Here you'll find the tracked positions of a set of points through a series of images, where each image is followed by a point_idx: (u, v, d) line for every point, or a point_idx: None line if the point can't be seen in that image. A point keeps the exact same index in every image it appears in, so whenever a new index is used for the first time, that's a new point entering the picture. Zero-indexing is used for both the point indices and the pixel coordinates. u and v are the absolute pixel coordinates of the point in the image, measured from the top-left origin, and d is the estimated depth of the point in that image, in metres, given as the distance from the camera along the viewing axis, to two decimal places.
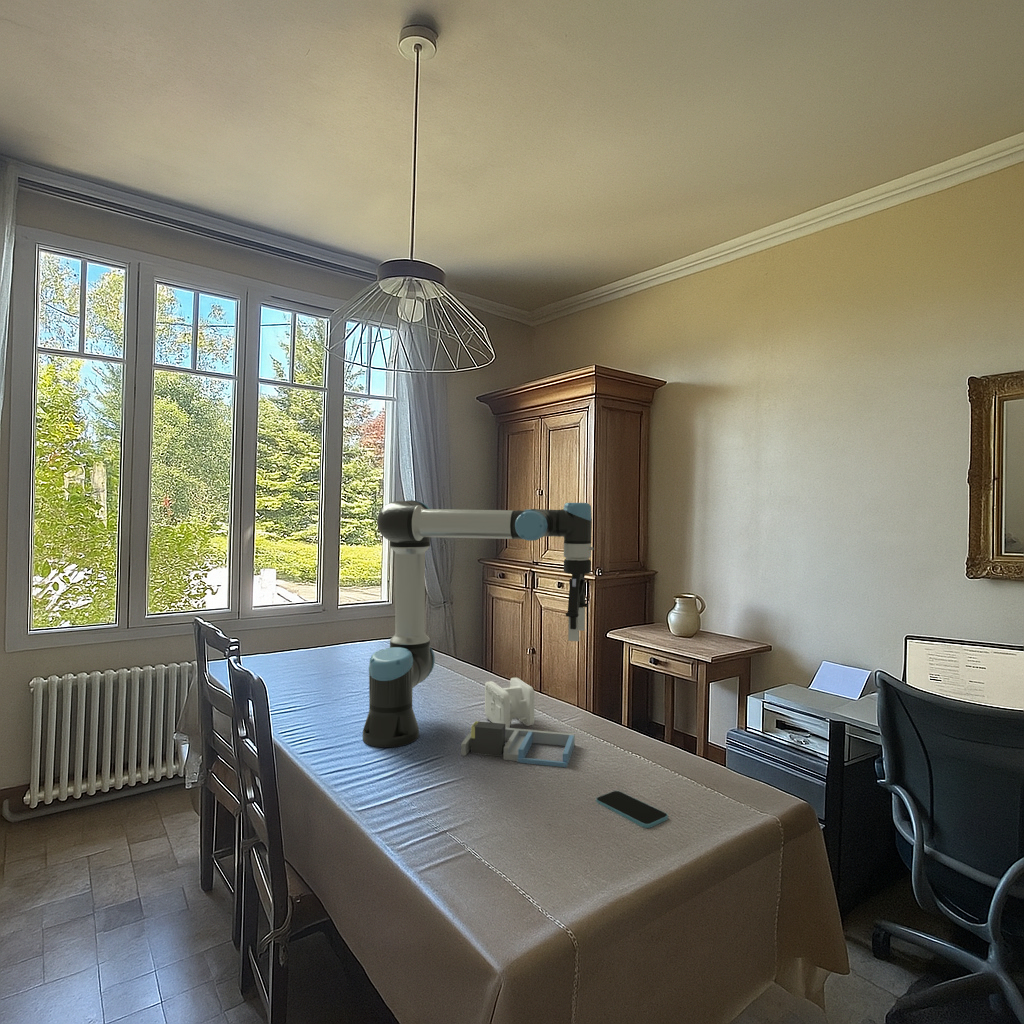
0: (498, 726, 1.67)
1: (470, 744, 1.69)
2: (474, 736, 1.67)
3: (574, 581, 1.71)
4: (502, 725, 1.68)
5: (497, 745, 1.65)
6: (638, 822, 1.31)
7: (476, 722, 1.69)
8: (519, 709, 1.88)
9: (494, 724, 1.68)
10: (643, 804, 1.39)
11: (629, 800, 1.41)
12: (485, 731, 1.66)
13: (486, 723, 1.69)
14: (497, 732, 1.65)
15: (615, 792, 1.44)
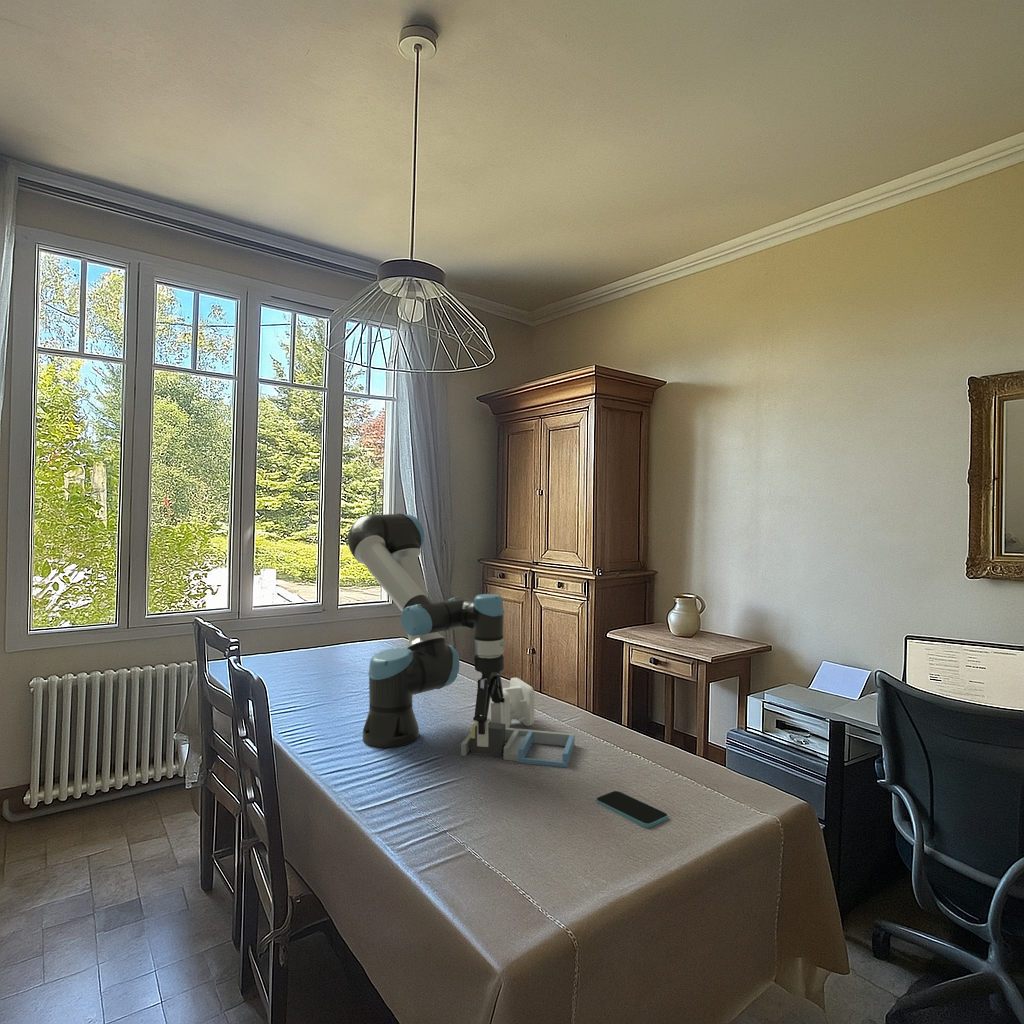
0: (498, 726, 1.67)
1: (470, 744, 1.69)
2: (474, 736, 1.67)
3: (482, 682, 1.60)
4: (502, 725, 1.68)
5: (497, 745, 1.65)
6: (638, 822, 1.31)
7: (476, 722, 1.69)
8: (519, 709, 1.88)
9: (494, 724, 1.68)
10: (643, 804, 1.39)
11: (629, 800, 1.41)
12: None
13: None
14: (497, 732, 1.65)
15: (615, 792, 1.44)
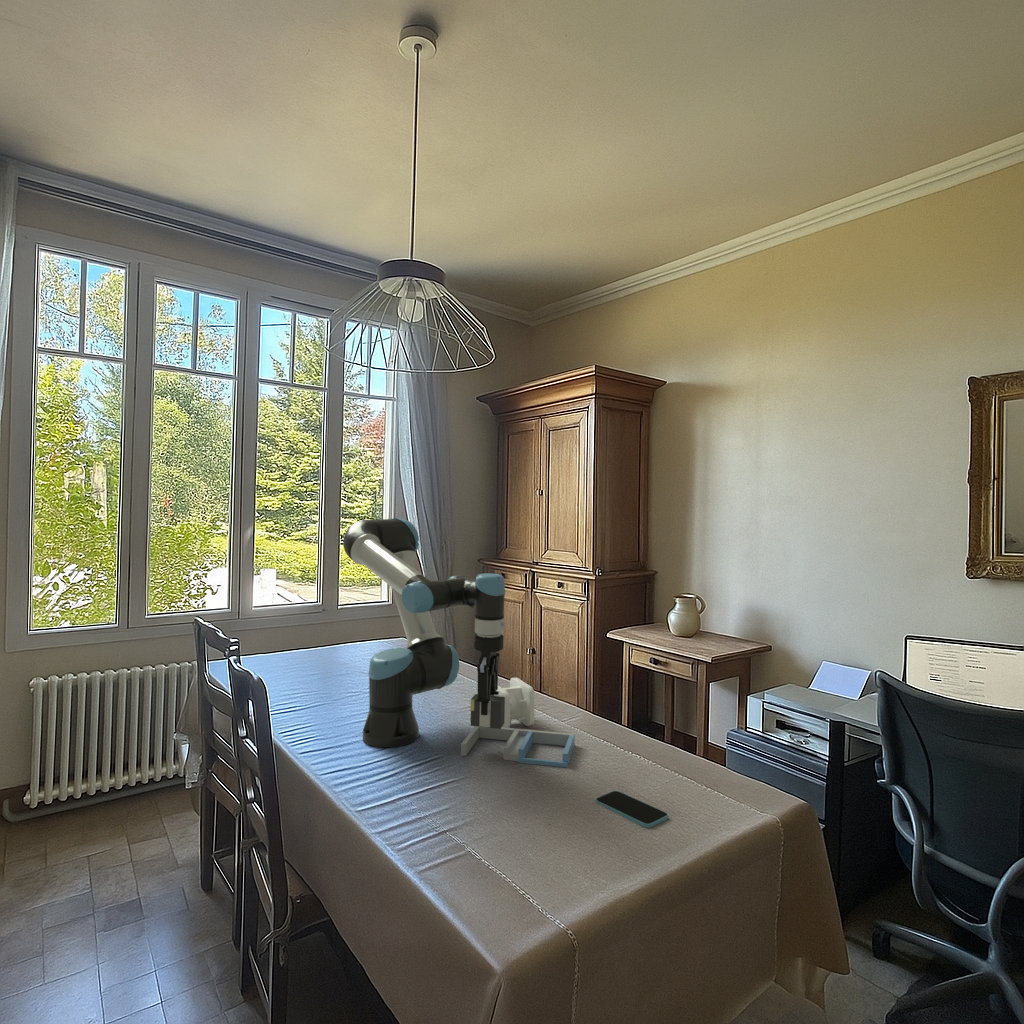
0: (498, 699, 1.67)
1: (470, 744, 1.69)
2: (473, 709, 1.67)
3: (482, 668, 1.61)
4: (501, 698, 1.68)
5: (496, 717, 1.65)
6: (639, 822, 1.31)
7: (475, 695, 1.69)
8: (519, 709, 1.88)
9: (493, 697, 1.68)
10: (643, 804, 1.39)
11: (628, 800, 1.41)
12: None
13: None
14: (496, 705, 1.65)
15: (614, 792, 1.44)
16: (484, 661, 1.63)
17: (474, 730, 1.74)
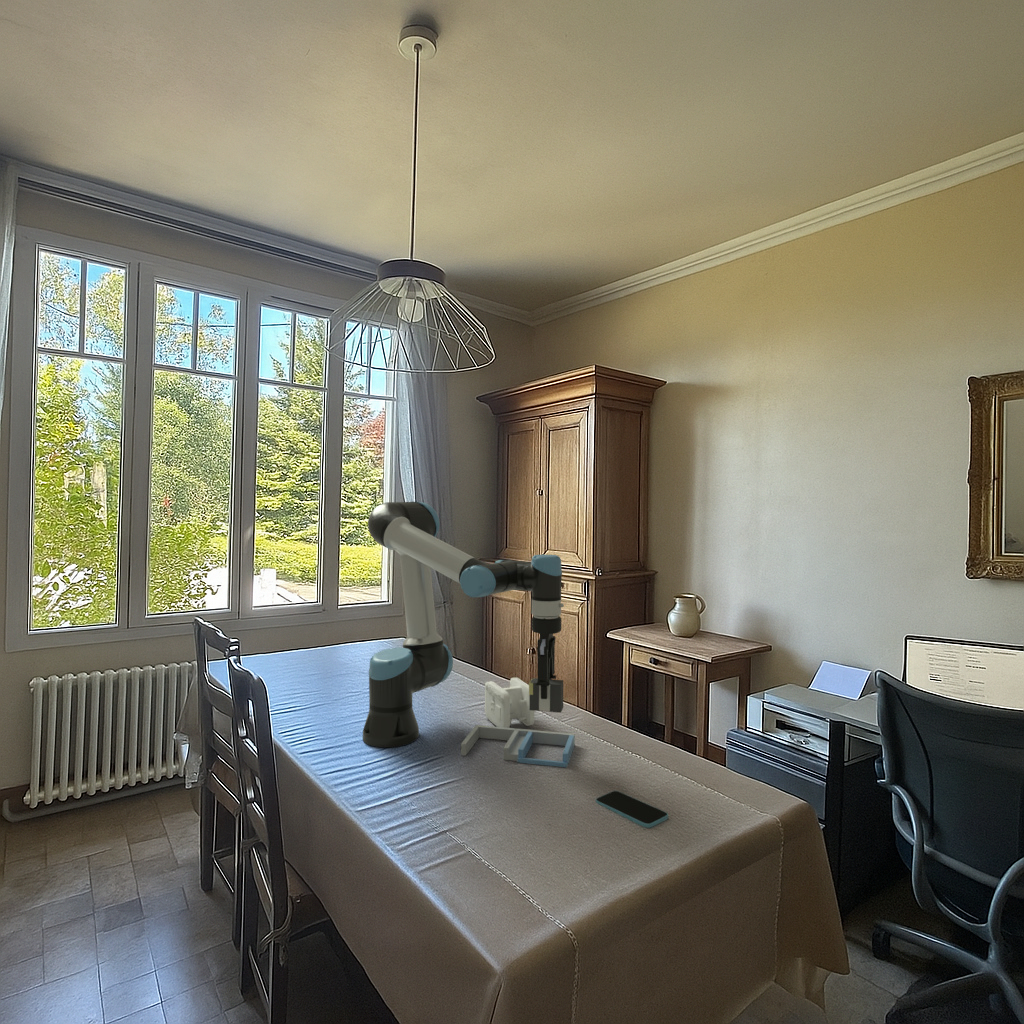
0: (557, 682, 1.63)
1: (470, 744, 1.69)
2: (532, 693, 1.63)
3: (542, 650, 1.57)
4: (560, 681, 1.64)
5: (556, 701, 1.61)
6: (639, 822, 1.31)
7: (533, 679, 1.66)
8: (519, 709, 1.88)
9: (552, 680, 1.64)
10: (643, 804, 1.39)
11: (628, 800, 1.41)
12: None
13: None
14: (556, 688, 1.61)
15: (614, 792, 1.44)
16: (543, 643, 1.59)
17: (474, 730, 1.74)
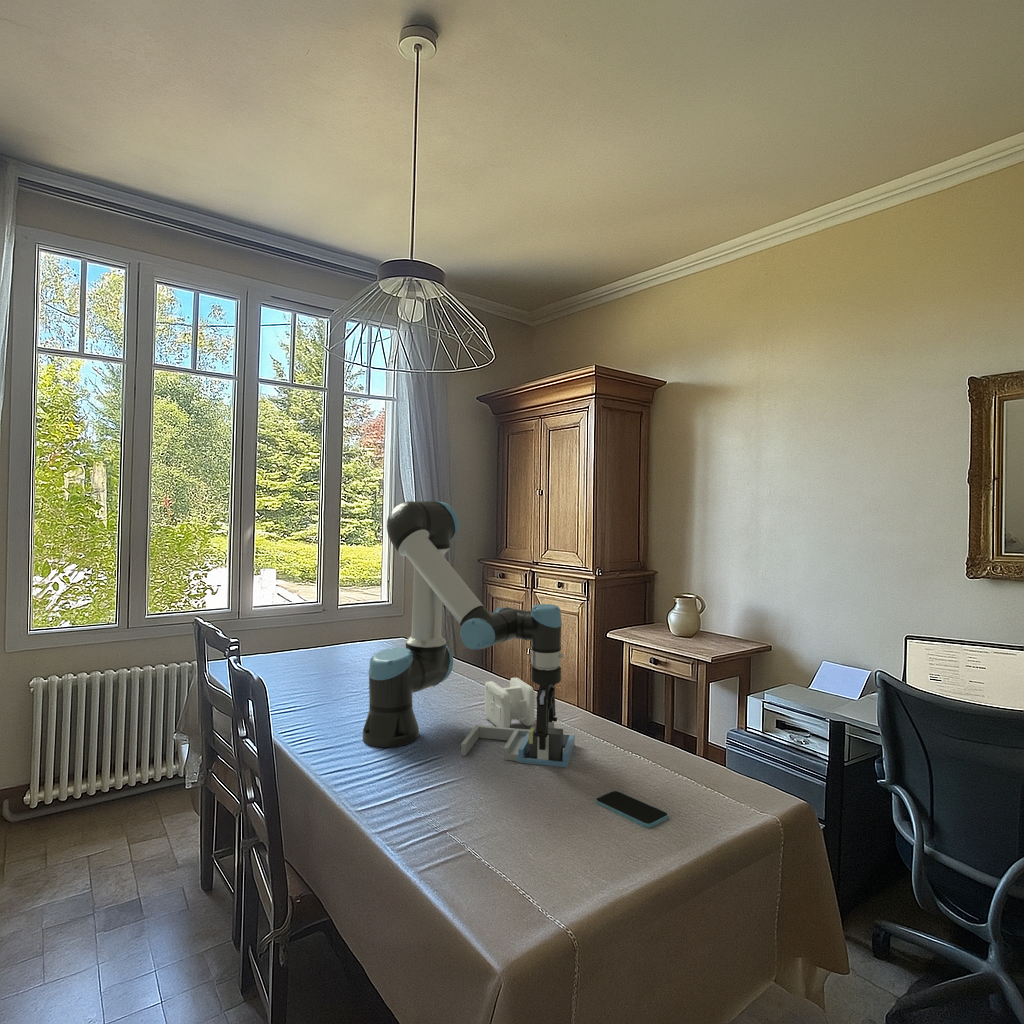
0: (557, 731, 1.63)
1: (470, 744, 1.69)
2: (532, 742, 1.63)
3: (541, 699, 1.58)
4: (560, 730, 1.64)
5: (555, 751, 1.62)
6: (639, 822, 1.31)
7: (533, 727, 1.66)
8: (519, 709, 1.88)
9: (552, 729, 1.65)
10: (643, 804, 1.39)
11: (628, 800, 1.41)
12: None
13: None
14: (556, 738, 1.62)
15: (614, 792, 1.44)
16: (543, 693, 1.60)
17: (474, 730, 1.74)
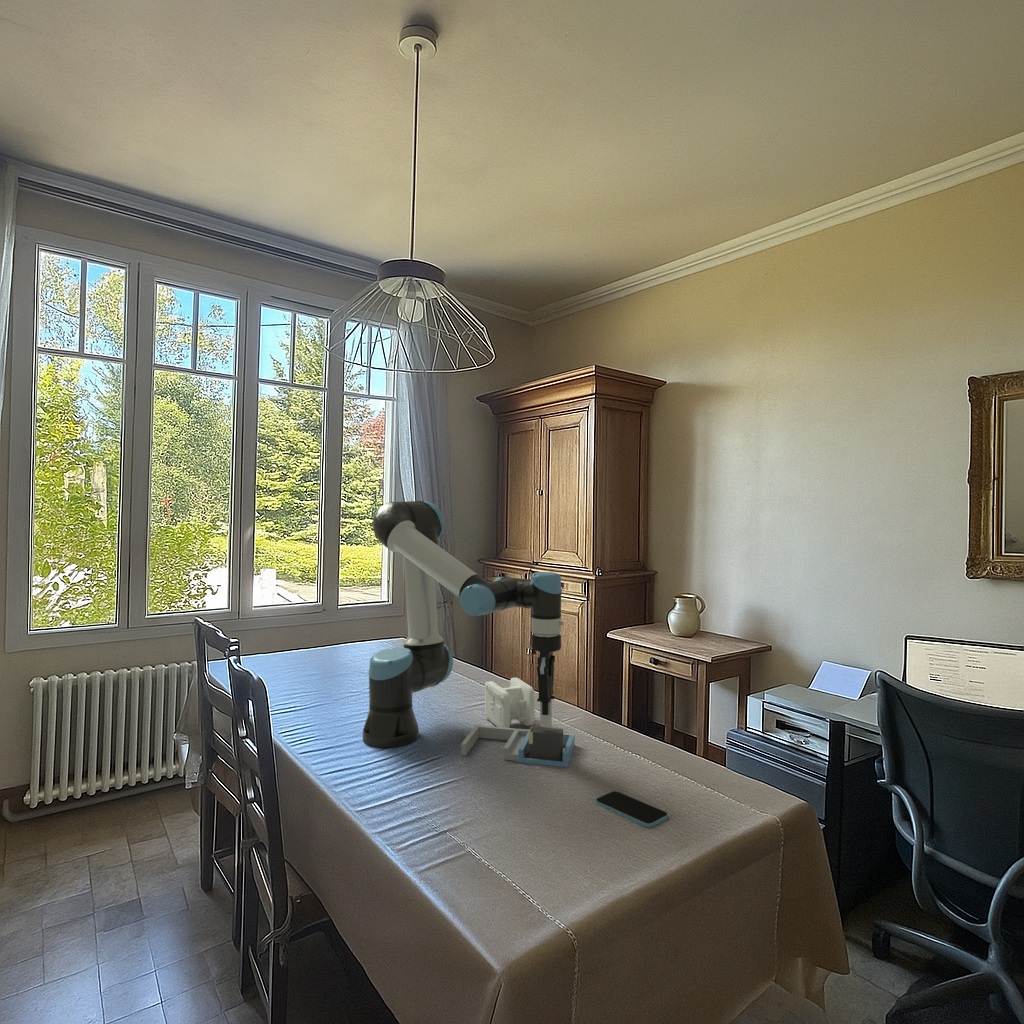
0: (557, 731, 1.63)
1: (470, 744, 1.69)
2: (532, 742, 1.63)
3: (542, 671, 1.58)
4: (560, 730, 1.64)
5: (555, 751, 1.62)
6: (640, 822, 1.31)
7: (533, 728, 1.66)
8: (519, 709, 1.88)
9: (552, 729, 1.65)
10: (643, 804, 1.39)
11: (628, 800, 1.41)
12: (543, 736, 1.62)
13: (543, 728, 1.65)
14: (556, 738, 1.62)
15: (613, 792, 1.44)
16: (543, 662, 1.59)
17: (474, 730, 1.74)
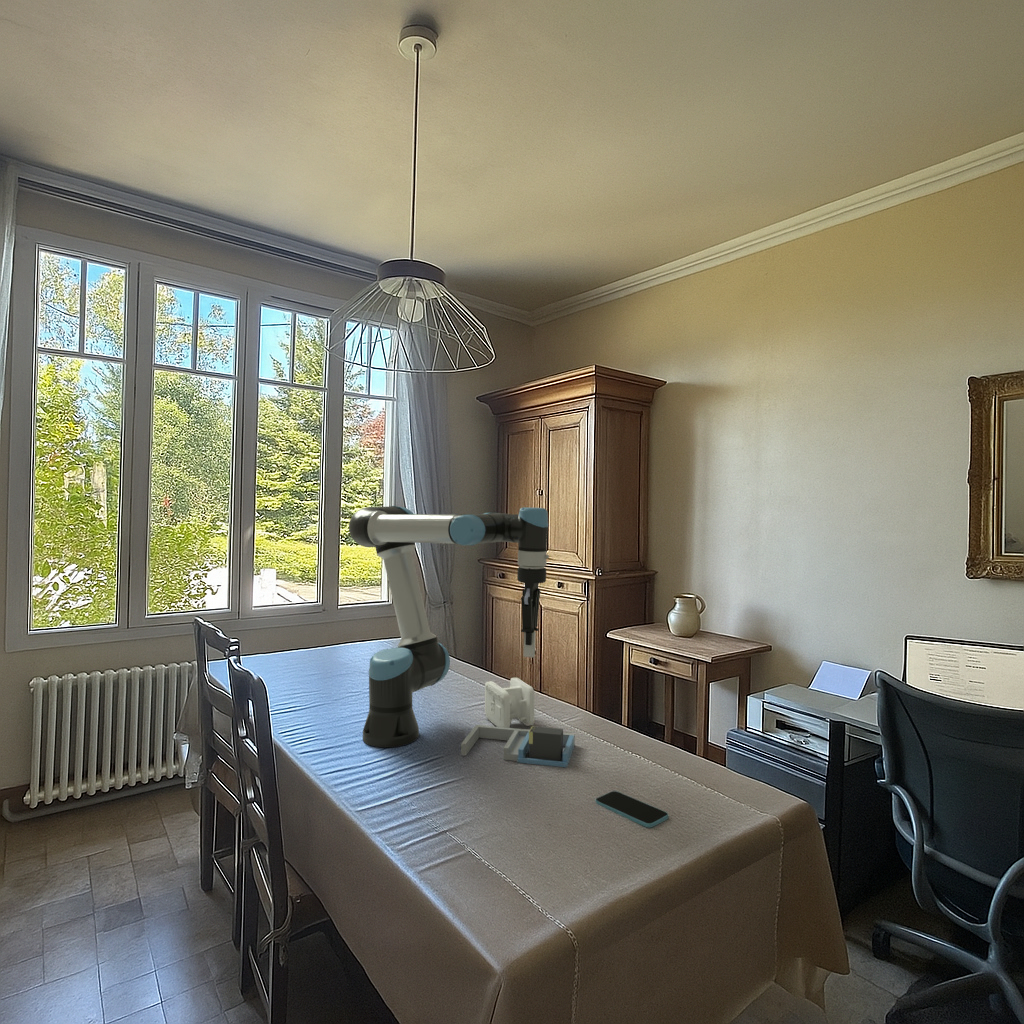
0: (557, 731, 1.63)
1: (470, 744, 1.69)
2: (532, 742, 1.63)
3: (526, 600, 1.63)
4: (560, 730, 1.64)
5: (555, 751, 1.62)
6: (640, 822, 1.31)
7: (533, 728, 1.66)
8: (519, 709, 1.88)
9: (552, 729, 1.65)
10: (643, 804, 1.39)
11: (628, 800, 1.41)
12: (543, 736, 1.62)
13: (543, 728, 1.65)
14: (556, 738, 1.62)
15: (613, 792, 1.44)
16: (528, 593, 1.64)
17: (474, 730, 1.74)
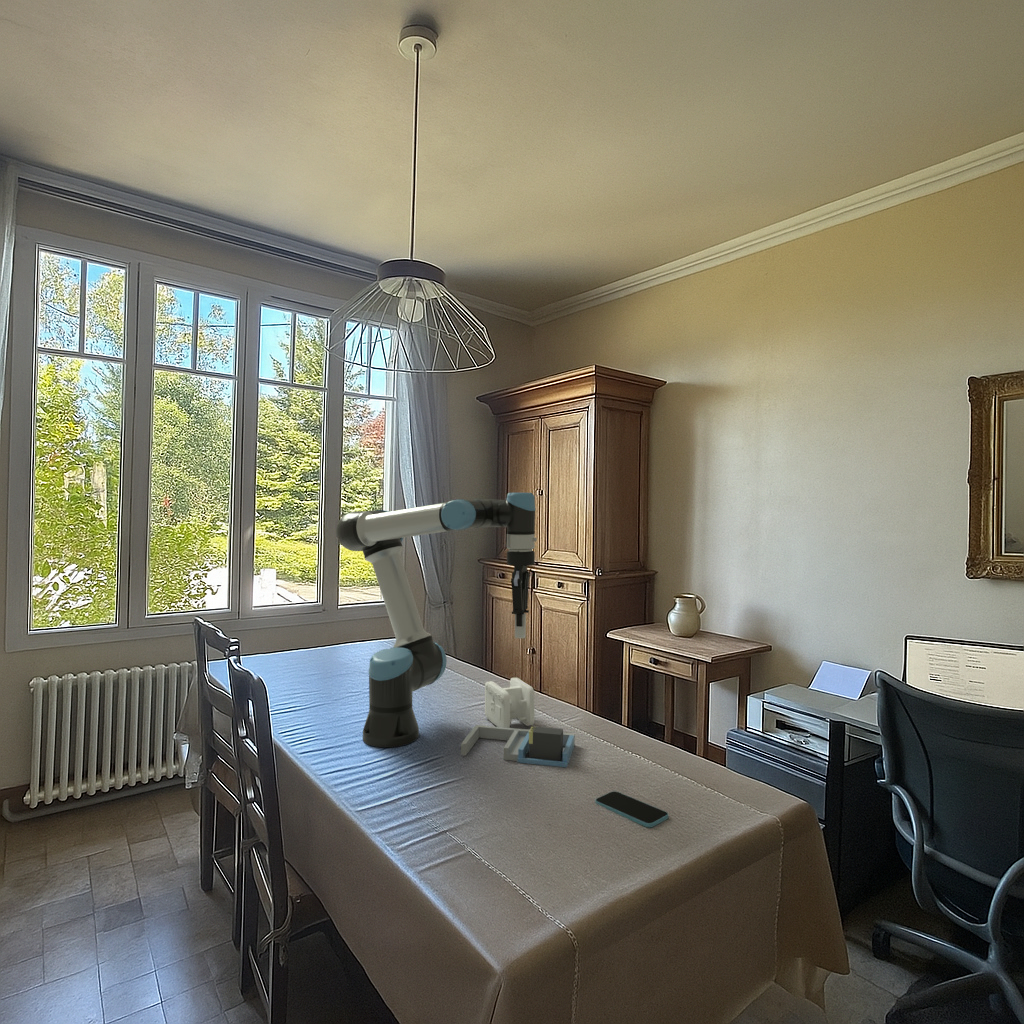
0: (557, 731, 1.63)
1: (470, 744, 1.69)
2: (532, 742, 1.63)
3: (515, 582, 1.67)
4: (560, 730, 1.64)
5: (555, 751, 1.62)
6: (640, 822, 1.31)
7: (533, 728, 1.66)
8: (519, 709, 1.88)
9: (552, 729, 1.65)
10: (643, 804, 1.39)
11: (628, 800, 1.41)
12: (543, 736, 1.62)
13: (543, 728, 1.65)
14: (556, 738, 1.62)
15: (613, 792, 1.44)
16: (517, 575, 1.68)
17: (474, 730, 1.74)
